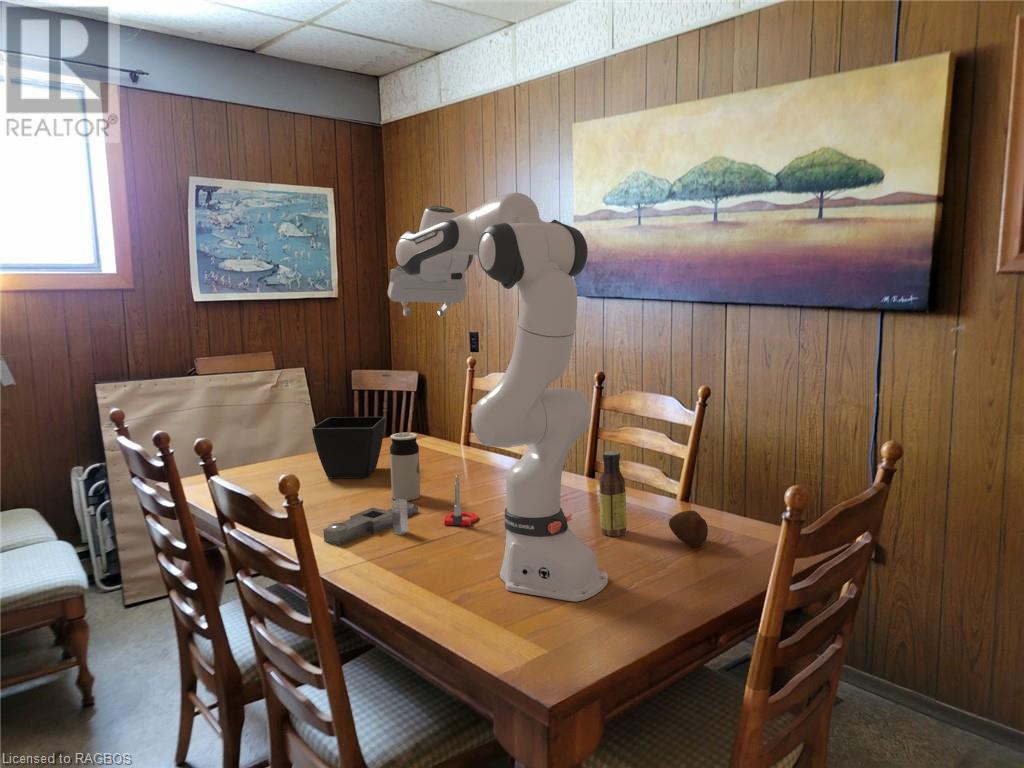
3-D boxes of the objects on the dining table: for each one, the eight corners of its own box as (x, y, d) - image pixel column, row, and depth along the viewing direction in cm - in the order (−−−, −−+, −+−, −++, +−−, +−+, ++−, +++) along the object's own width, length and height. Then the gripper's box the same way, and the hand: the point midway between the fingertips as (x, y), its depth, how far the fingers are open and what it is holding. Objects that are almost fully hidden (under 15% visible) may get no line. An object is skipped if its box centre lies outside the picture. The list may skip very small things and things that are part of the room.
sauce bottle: (627, 529, 177) (628, 450, 174) (624, 538, 171) (625, 456, 168) (601, 527, 178) (601, 448, 175) (597, 536, 172) (597, 455, 169)
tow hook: (449, 515, 190) (440, 525, 181) (448, 467, 189) (439, 475, 180) (480, 516, 189) (473, 527, 180) (480, 468, 188) (473, 476, 179)
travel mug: (387, 500, 202) (384, 437, 199) (398, 492, 209) (396, 431, 207) (414, 502, 200) (412, 439, 197) (424, 494, 208) (422, 432, 205)
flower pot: (331, 465, 240) (328, 416, 238) (387, 465, 239) (385, 415, 237) (313, 482, 222) (310, 428, 219) (374, 481, 221) (372, 427, 218)
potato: (695, 553, 161) (696, 519, 160) (662, 541, 169) (662, 508, 168) (716, 546, 165) (717, 513, 164) (683, 534, 173) (684, 502, 172)
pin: (408, 532, 177) (406, 500, 176) (400, 535, 175) (399, 503, 174) (400, 530, 178) (399, 498, 177) (392, 533, 176) (391, 501, 175)
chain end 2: (422, 513, 191) (422, 505, 191) (374, 533, 176) (373, 525, 176) (400, 508, 195) (399, 500, 195) (350, 527, 181) (350, 519, 180)
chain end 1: (396, 524, 183) (396, 510, 182) (343, 546, 168) (342, 531, 167) (373, 518, 187) (373, 504, 187) (319, 540, 172) (318, 525, 172)
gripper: (394, 271, 177) (387, 320, 185) (472, 274, 185) (463, 321, 193) (388, 260, 182) (382, 308, 189) (465, 263, 190) (456, 310, 197)
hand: (423, 315), depth 191 cm, fingers open, 8 cm apart
